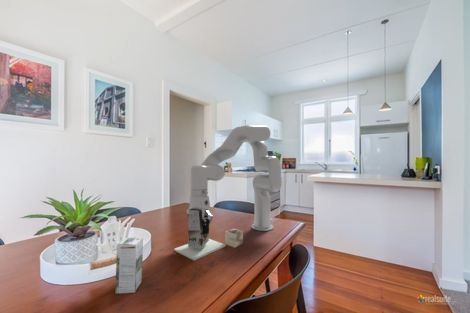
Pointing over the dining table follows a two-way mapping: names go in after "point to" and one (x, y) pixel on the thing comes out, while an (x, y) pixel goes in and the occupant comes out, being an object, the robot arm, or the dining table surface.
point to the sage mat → (199, 249)
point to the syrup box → (129, 265)
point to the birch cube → (234, 237)
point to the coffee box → (196, 229)
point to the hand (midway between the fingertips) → (198, 231)
